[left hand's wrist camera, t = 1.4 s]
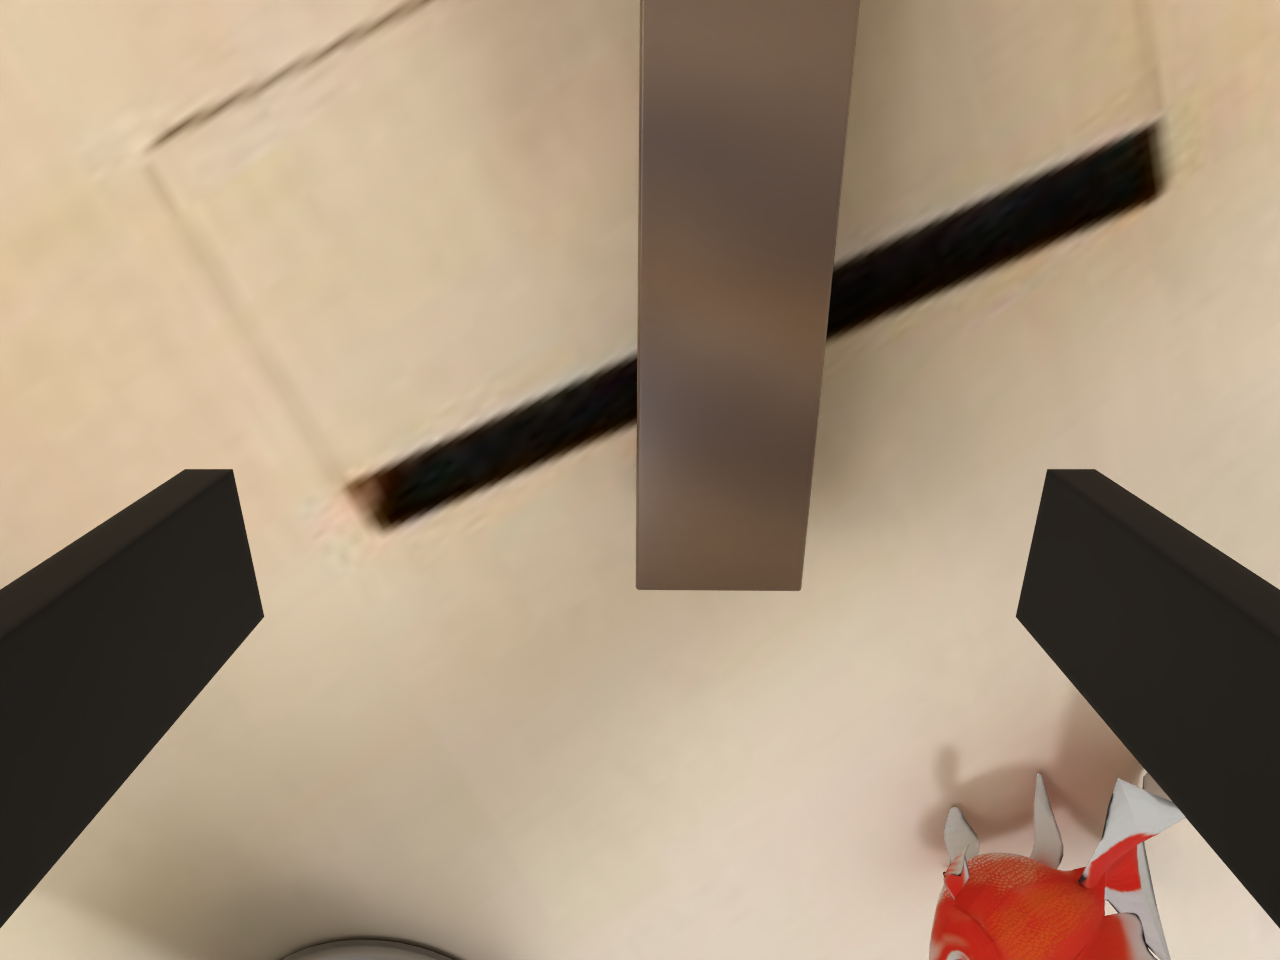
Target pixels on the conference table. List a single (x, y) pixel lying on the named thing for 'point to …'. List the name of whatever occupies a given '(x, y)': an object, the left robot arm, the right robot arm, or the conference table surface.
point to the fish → (1056, 889)
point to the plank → (734, 281)
